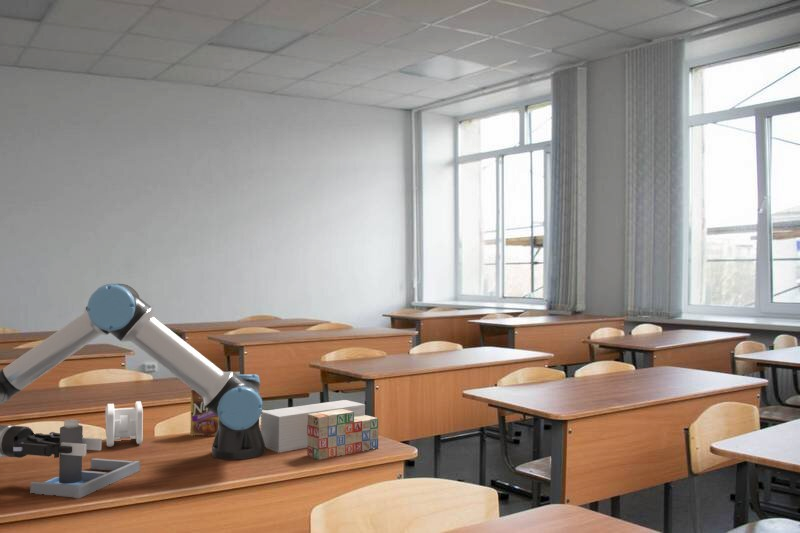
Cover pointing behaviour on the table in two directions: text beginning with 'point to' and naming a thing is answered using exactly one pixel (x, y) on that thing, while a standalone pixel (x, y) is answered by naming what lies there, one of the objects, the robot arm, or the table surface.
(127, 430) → the cable organizer
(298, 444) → the long white block
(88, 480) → the grey frame
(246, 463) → the table surface
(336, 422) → the stack of blocks
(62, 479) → the grey bottle
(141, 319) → the robot arm
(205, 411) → the candy box
